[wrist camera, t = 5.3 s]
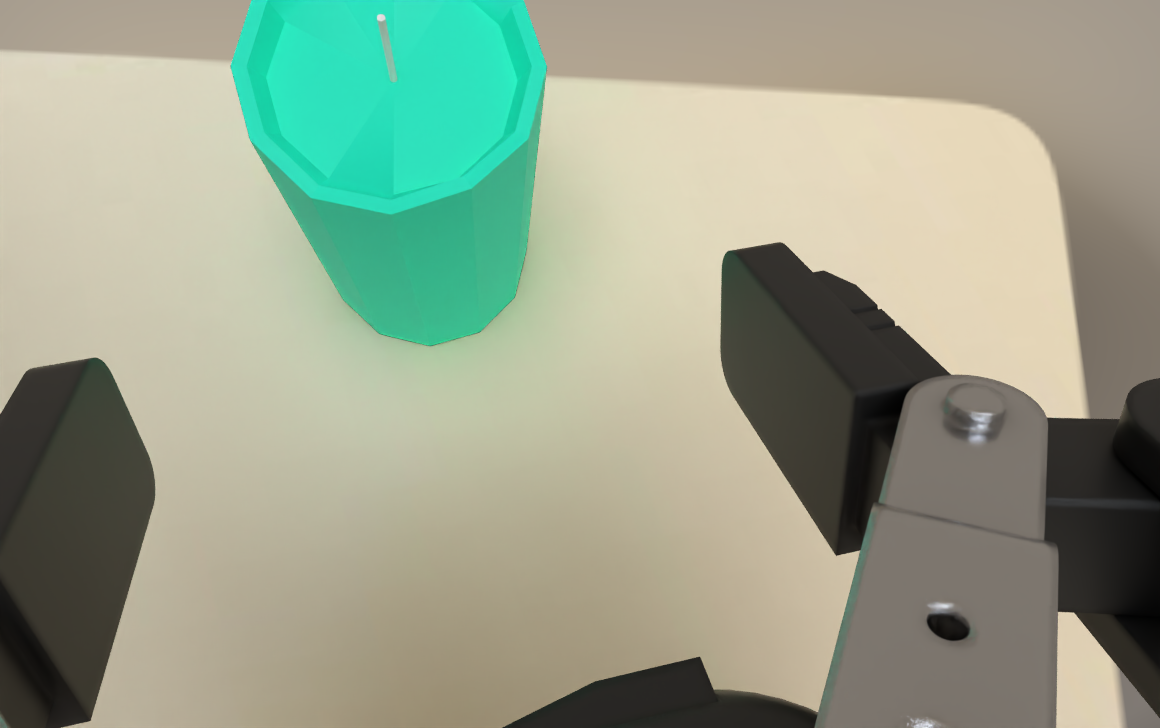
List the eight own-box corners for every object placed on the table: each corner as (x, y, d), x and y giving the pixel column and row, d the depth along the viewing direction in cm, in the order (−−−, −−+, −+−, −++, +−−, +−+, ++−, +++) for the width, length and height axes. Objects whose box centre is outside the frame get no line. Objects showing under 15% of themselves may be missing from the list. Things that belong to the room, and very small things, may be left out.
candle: (562, 284, 27) (616, 77, 15) (393, 382, 26) (311, 239, 14) (463, 130, 28) (442, -177, 16) (294, 219, 27) (139, -44, 15)
